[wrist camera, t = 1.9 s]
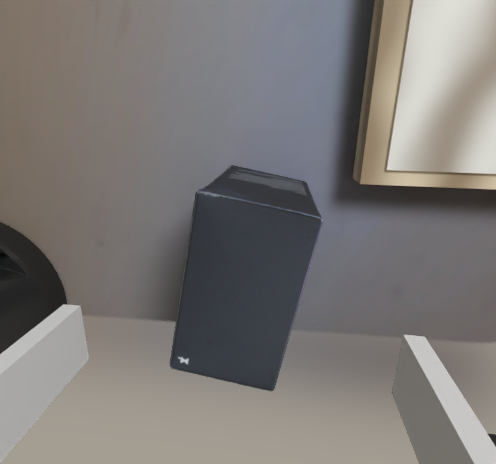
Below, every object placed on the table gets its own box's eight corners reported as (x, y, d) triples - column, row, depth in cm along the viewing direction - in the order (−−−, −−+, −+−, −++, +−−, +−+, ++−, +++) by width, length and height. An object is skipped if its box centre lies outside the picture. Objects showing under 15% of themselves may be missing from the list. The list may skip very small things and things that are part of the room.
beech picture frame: (352, 178, 24) (360, 184, 21) (381, -57, 19) (396, -85, 17) (528, 185, 22) (559, 192, 20) (603, -64, 18) (656, -96, 15)
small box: (280, 301, 28) (277, 400, 18) (207, 284, 28) (163, 371, 18) (312, 181, 24) (331, 220, 14) (228, 163, 24) (188, 188, 14)
